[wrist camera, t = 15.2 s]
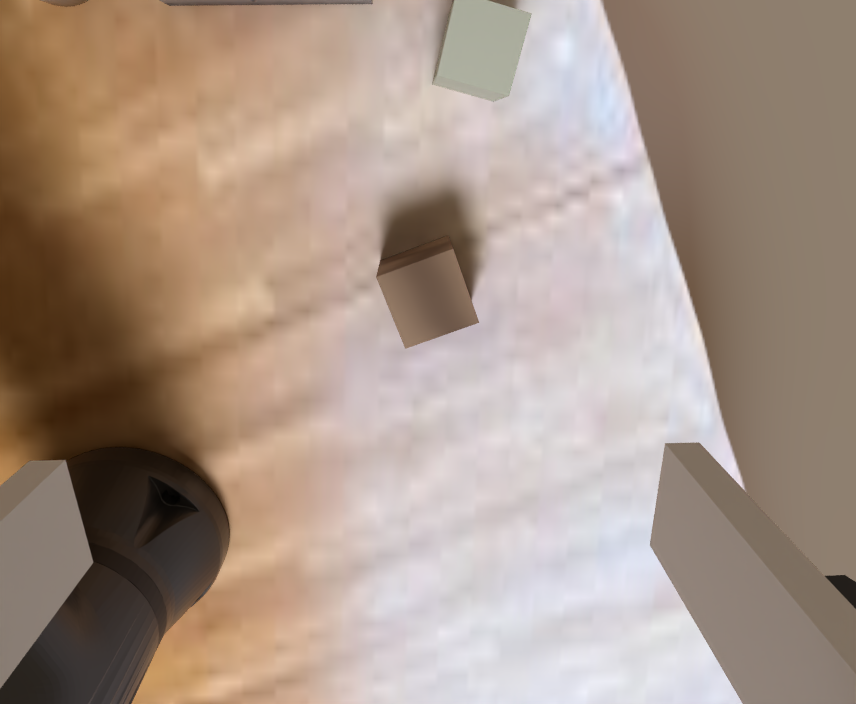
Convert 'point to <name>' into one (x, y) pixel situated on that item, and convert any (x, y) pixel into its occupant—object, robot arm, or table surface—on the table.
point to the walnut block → (426, 292)
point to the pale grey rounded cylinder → (65, 2)
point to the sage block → (481, 48)
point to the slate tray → (261, 2)
